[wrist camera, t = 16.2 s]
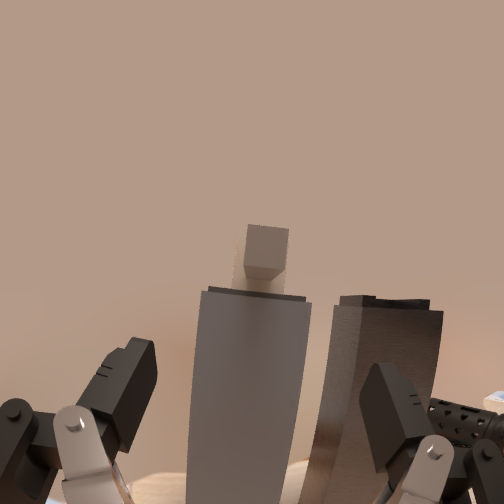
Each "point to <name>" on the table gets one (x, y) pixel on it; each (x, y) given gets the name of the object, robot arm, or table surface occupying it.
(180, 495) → the table surface
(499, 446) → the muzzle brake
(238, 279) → the plug
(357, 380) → the stand
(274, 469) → the tall grey square pillar
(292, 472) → the table surface
